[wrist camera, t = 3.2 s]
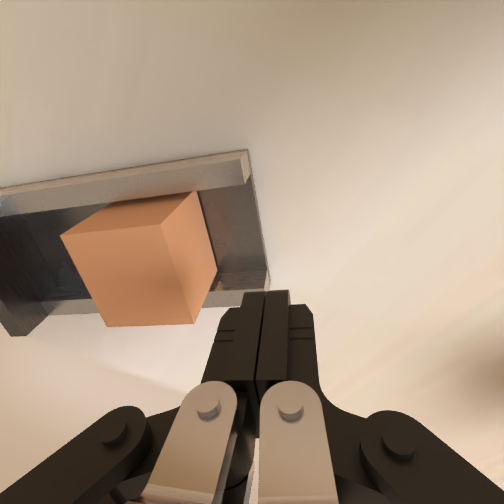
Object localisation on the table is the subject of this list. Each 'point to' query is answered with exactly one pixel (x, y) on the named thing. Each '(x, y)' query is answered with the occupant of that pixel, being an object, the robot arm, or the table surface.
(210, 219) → the chute
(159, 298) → the block
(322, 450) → the robot arm
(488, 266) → the table surface
